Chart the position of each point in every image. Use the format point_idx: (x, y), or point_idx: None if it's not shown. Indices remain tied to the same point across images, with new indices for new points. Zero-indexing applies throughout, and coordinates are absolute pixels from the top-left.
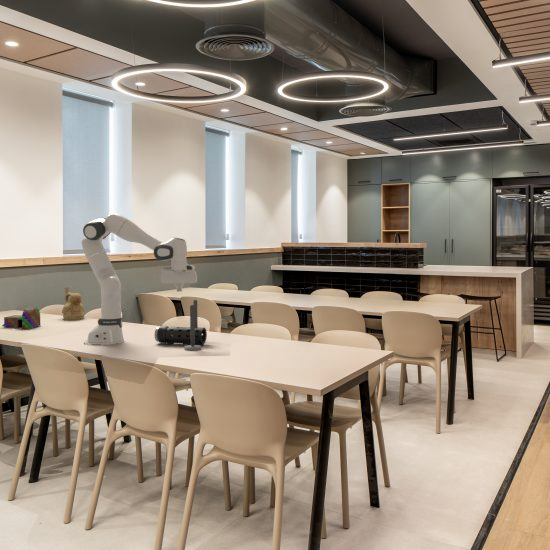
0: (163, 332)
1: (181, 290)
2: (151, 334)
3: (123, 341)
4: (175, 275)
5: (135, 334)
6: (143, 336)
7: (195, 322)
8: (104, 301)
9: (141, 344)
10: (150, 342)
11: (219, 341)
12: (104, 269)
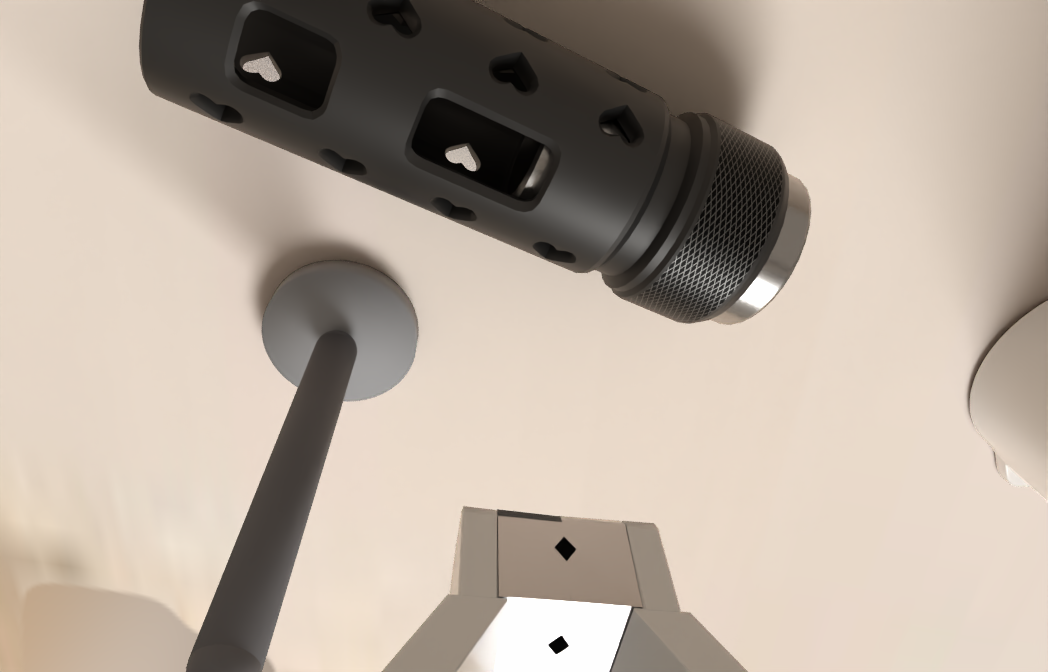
0: (721, 136)
1: (473, 523)
2: None
3: (1000, 347)
4: None
5: (797, 638)
6: (762, 563)
7: (303, 418)
8: None
9: (876, 213)
10: None
11: (83, 191)
12: None
